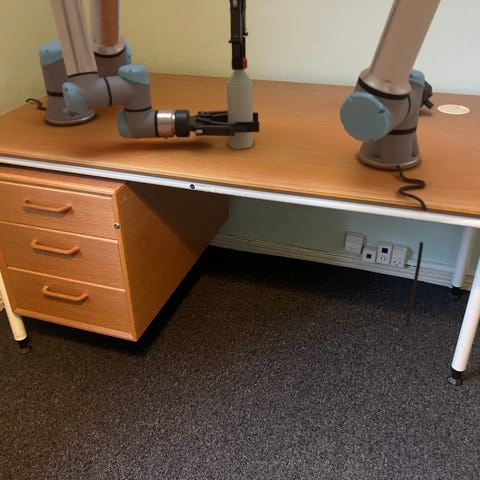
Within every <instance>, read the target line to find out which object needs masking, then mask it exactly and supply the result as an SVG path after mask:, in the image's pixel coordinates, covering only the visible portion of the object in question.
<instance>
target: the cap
mask: <svg viewBox="0 0 480 480" xmlns="http://www.w3.org/2000/svg"><path fill="white" fill-rule="evenodd" d="M230 62H231V66H232V60H231V61H230ZM247 68H248V58H247V57H246V58H243V69H245V70H246V69H247Z"/></svg>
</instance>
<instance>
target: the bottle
mask: <svg viewBox="0 0 480 480" xmlns="http://www.w3.org/2000/svg"><path fill="white" fill-rule="evenodd" d="M253 90H254V89H253V81H252V79H251V77H250V76H249V74H248V73H247V72H246V69H243V70H233V72H232V74H231V75H230V77H229V79H228V80H227V81H226V96H227V97H226V99H227V101H226V102H227V110H228V123H233V124H235V122H253V112H254V111H253V109H254V108H253V107H254V103H253V102H254V98H253ZM228 146H229V147H230V148H232V149H236V150H244V149H249V148H251V147H253V146H254V132H240V133H235V136H228Z"/></svg>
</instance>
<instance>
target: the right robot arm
mask: <svg viewBox="0 0 480 480" xmlns="http://www.w3.org/2000/svg"><path fill="white" fill-rule="evenodd" d="M228 1H229V12H230V13H229V17H230V19H229V23H230V39H229V40H228V44H231V61H232V65H231V69H232V71H234V70H243V58H246V59H247V49H246V47H247V46H246V45H247V44H246V43H247V41H246V40H247V39H246V38H247V37H248V36H249V32H248V31H247V18H246V17H247V16H246V15H247V0H228ZM440 3H441V0H393V2H392V4H391V7H390V10H389V13H388V15H387V18H386V20H385V23H384V27H383V30H382V32H381V34H380V37H379V40H378V43H377V46H376V48H375V51H374V54H373V57H372V60H371V61H370V65H369V66H368V67H367V68H364V69H362V70H361V71H360V72H359V75H358V78H357V81H356V83H355V86H354V88H353V92H352V93H351V94H349V95H348V96H347V97H346V98H345V100H343V101H342V104H341V107H340V110H339V118H340V122H341V124H342V126H343V129H344V131H345V132H346V133H347V134H348V136H350V137H351V138H353V139H354V140H357V141H358V142H362V143H361V145H360V147H359V151H358V159H359V160H360V162H362V163H363V164H364V165H367V166H369V167H372V168H374V169H378V170H385V171H398V173H399V176H400V178H401V179H402V180H404V181H405V182H410V183H419V184H412V185H411V184H410V185H404V186H401V187H399V189H398V193H399V195H401V196H403V197H408V198H411V199H413V200H415V201H416V202H418V203H419V204H420V205H421V207H422V210H423V211H425V212H426V211H428V207H427V206H426V203H425V202H424V200H423V199H422V198H421V197H419V196H417V195H415V194H412V193H408V192H406V191H405V190H412V189H420V188H424V187H425V186H426V182H425V181H424V180H423V179H418V178H410V177H406V176H405V175H404V172H403V170H408V169H412V168H414V167H416V166H418V164H419V163H420V158H421V153H420V151H421V150H420V146H419V140H418V135H417V130H418V124H419V119H420V117H419V116H420V111H421V109H420V106H421V101H422V95H423V89H424V87H425V85H424V80H425V79H426V77H425V74H424V73H423V72H422V71H420V70H417V69H413V68H414V67H415V63H416V60H417V58H418V56H419V53H420V51H421V49H422V46H423V45H424V42H425V39H426V37H427V34H428V32H429V30H430V27H431V25H432V22H433V20H434V17H435V15H436V12H437V11H438V8H439V6H440ZM425 81H426V80H425ZM423 248H424V242H422V241H419V246H418V253H417V254H418V255H417V260H416V265H415V273H414V278H413V283H412V287H411V291H410V292H411V293H410V298H409V301H408V307H407V312H406V318H405V323H404V327H405V328H408V327H409V324H410V319H411V313H412V308H413V303H414V299H415V293H416V288H417V284H418V280H419V274H420V270H421V269H420V268H421V262H422V257H423V250H424V249H423Z"/></svg>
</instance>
